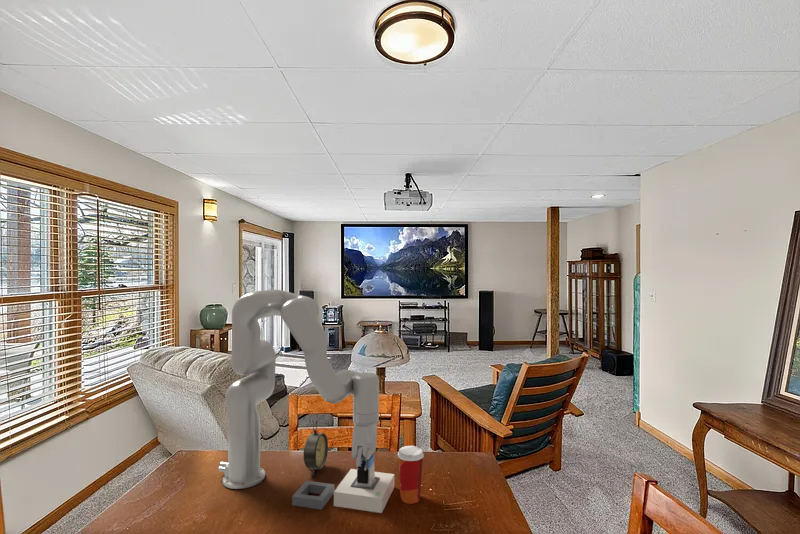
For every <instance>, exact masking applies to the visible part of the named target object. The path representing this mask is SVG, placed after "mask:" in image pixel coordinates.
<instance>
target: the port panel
mask: <svg viewBox="0 0 800 534" xmlns="http://www.w3.org/2000/svg"><path fill="white" fill-rule="evenodd" d="M394 488H395V473H390V472H389V473H388V472H387V473H386V472H379V471H375V483H374V485H373V486H372V488H371V487H364V486H358V482H357V468H356V469H355V468H350V470H349V471H348V472H347V473H346V475H345V476H344V477H343V479H342V480H341V481H340V483H339V484H338V485H337V487H336V488H335V489H334V494H333V507H337V508H345V509H352V510H358V511H366V512H370V513H379V514H382V513H383V511H384V510H385V507H386V505H387V503H388V502H389V499H390V498H391V496H392V495H391V494H392V493H393V491H394Z"/></svg>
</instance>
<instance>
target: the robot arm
mask: <svg viewBox="0 0 800 534" xmlns="http://www.w3.org/2000/svg"><path fill="white" fill-rule="evenodd" d="M319 314H320V307H319V305H318V302H317V301H316V300H314V299H313V298H312V297H309V296H306V295H302V294H298V293H293V292H291V291H285V290H282V289H267V290H255V291H251V292H248V293H245V294H243V295H242V296H240V297H239V298H238V299H237V300H236V301H235V302H234V305H233V306H232V308H231V327H232V328H231V329H232V330H231V351H230V352H231V355H230V356H231V358H230V364H231V368H232V371H233V372H234V373H235V374H236V375H239V376H245V377H242V378H240V379H237V380H236V381H234V382H233V383H231V384H230V385H229V387H228V388H227V389H226V392H225V397H224V398H225V400H224V401H225V402H224V403H225V406H226V411H227V420H228V421H227V422H228V423H227V424H228V425H227V427H228V430H227V431H228V434H227V436H228V437H227V438H228V440H227V441H228V442H227V446H228V449H227V456H228V457H227V462H226V461H220V462H219V466H218V468H217V472H221V473H224V475H223V476H222V485H223V486H224V487H226V488H229V489H234V490H238V489H239V490H241V489H247V488H251V487H255V486H256V485H259V484H260V483H262V482H263V480H264V479H265V477H266V471H265V469H264V468H262V467H261V417H260V413H259V410H258V405H259V404H260V403H262V402H265V400H267V399H268V398H270V397H271V396H272V395H273V393H274V389H275V385H276V364H277V363H276V362H277V361H276V359H277V358H276V357H277V356H276V350H275V349H274V347H273V345H272V343H271V342H269V341H267V340H265V339H261V336H262V330H261V326H260V323H259V319H264V318H268V317H269V318H271V317H274V316H279V317H281V319H282V320H283V322H284V324H285V325H286V327H287V329H288V330H289V332H290V334H291V335H292V337H293V338H294V339H295V341H296V343H297V344H298V345H299V347H300V349H301V350H302V352H303V355H304V356H303V357H304V363H305V368H306V372H307V375H308V377H309V379H310V382H311V383H312V385H313V386H314V388H315V389H316V391H317V392H318V394H319V396H320V397H321V398H322V399H324V400H325V402H327V403H330V404H338V403H340V402H342V401H344V400H345V399H346V398H347V397H349V396H352V423H353V425H354V426H353V431H352V440H351V441H352V443H351V459H352V460H355V461H356V462H355V467H356V469H357V482H358V483H363V484H368V469H367V464H368V459H369V458H370V457H371V455H372V454H374V452H375V451H376V449H377V446H378V445H377V444H378V443H377V441H378V440H377V438H378V433H377V431H378V430H377V426H378V425H377V424H378V423H379V421H380V420H379V419H380V418H379V415H380V413H379V412H380V411H379V409H380V408H379V407H380V406H379V405H380V379H379V376H378V374H376V373H374V372H359V371H354V370H351V369H340V370H338V371H337V372H336V371H335V370H334V369H333V367H332V365H331V363H330V361H329V359H328V354H327V351H328V350H327V349H328V345H329V344H328V343H329V336H328V335H327V333H326V330H325V329H324V328H323V327H322V325H321V324H320V322H319V321H318V319H317V318H318V317H319ZM246 375H248V376H246ZM362 456H363V457H365V458H362ZM356 459H357V460H356ZM362 461H365V465H364V463H362Z"/></svg>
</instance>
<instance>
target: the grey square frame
mask: <svg viewBox="0 0 800 534" xmlns="http://www.w3.org/2000/svg"><path fill="white" fill-rule="evenodd" d="M334 491H335V484H333V483H328V482H327V483H326V482H320V481H319V482H318V481H311V480H305V481H304V482H303V484H301V486H300V487H299V488H298V489H297V490H296V492H294V494H292V496H291V505H292V506H294V507H295V506H296V507H302V508H309V509H314V510H315V509H316V510H320V511H321V510H323V509H324V507H326V505H327V504H328V502H329V500H330V499H331V498H332V497H333V496H334ZM309 493H310V494H311V495H309ZM312 494H316V495H312ZM317 494H318V496H317Z"/></svg>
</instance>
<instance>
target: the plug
mask: <svg viewBox="0 0 800 534" xmlns="http://www.w3.org/2000/svg"><path fill="white" fill-rule="evenodd" d="M362 458H365V457H363V456H362ZM356 460H357V458H355V461H356ZM375 462H376V461H375V454H374V453H373V454H372V455H371V457H370V458H369V459H368V464H367V469H368V484H363V483H358V486H364V487H371V488H372V486H373V485H374V483H375V472H376V471H375ZM362 463H364V465H365V461H362Z"/></svg>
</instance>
